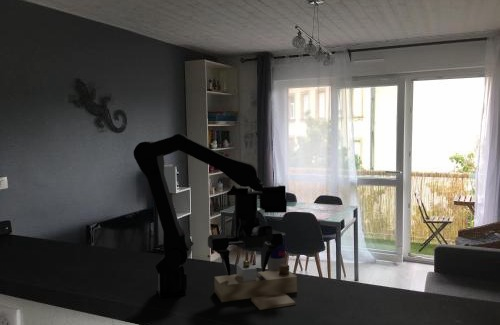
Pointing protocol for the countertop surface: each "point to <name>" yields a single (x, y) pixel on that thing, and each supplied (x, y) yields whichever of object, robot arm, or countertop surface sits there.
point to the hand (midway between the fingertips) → (246, 273)
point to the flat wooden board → (272, 301)
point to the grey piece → (246, 271)
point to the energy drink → (278, 256)
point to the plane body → (256, 285)
